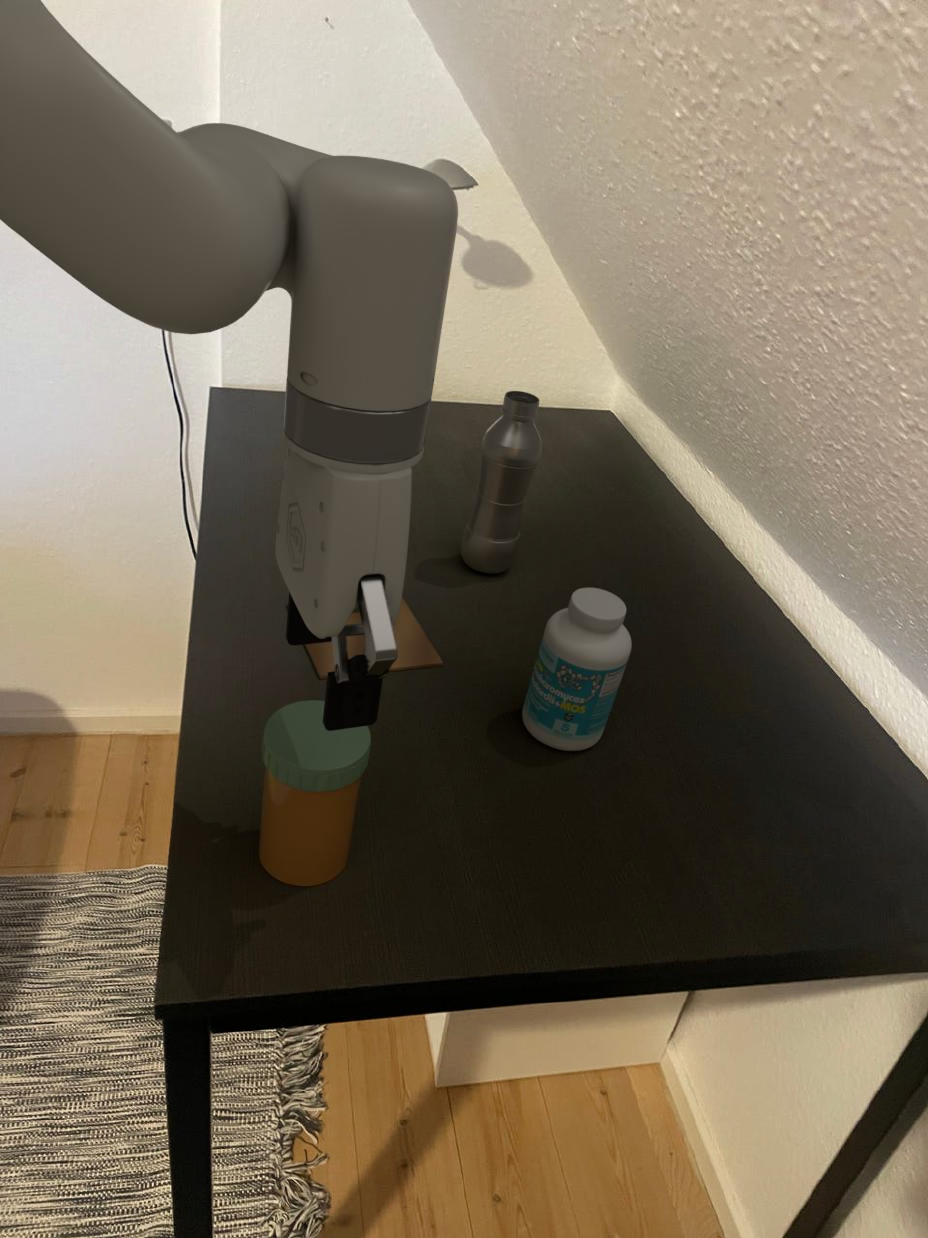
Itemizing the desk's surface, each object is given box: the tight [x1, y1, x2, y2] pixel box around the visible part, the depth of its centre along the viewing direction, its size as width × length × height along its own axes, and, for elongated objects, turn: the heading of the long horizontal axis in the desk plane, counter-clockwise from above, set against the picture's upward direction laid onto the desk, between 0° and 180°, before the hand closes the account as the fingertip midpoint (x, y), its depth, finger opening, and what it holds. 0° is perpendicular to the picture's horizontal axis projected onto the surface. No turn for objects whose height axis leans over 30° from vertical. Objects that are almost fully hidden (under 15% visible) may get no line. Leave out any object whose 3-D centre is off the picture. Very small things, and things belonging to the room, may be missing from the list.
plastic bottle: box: [460, 390, 543, 574], centre depth 102 cm, size 6×7×20 cm
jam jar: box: [258, 765, 362, 887], centre depth 65 cm, size 6×6×11 cm
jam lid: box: [260, 699, 372, 792], centre depth 62 cm, size 7×7×2 cm
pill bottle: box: [521, 587, 633, 752], centre depth 81 cm, size 8×7×14 cm
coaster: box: [286, 596, 444, 680], centre depth 91 cm, size 12×12×1 cm
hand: (328, 679), depth 59 cm, fingers open, 8 cm apart
